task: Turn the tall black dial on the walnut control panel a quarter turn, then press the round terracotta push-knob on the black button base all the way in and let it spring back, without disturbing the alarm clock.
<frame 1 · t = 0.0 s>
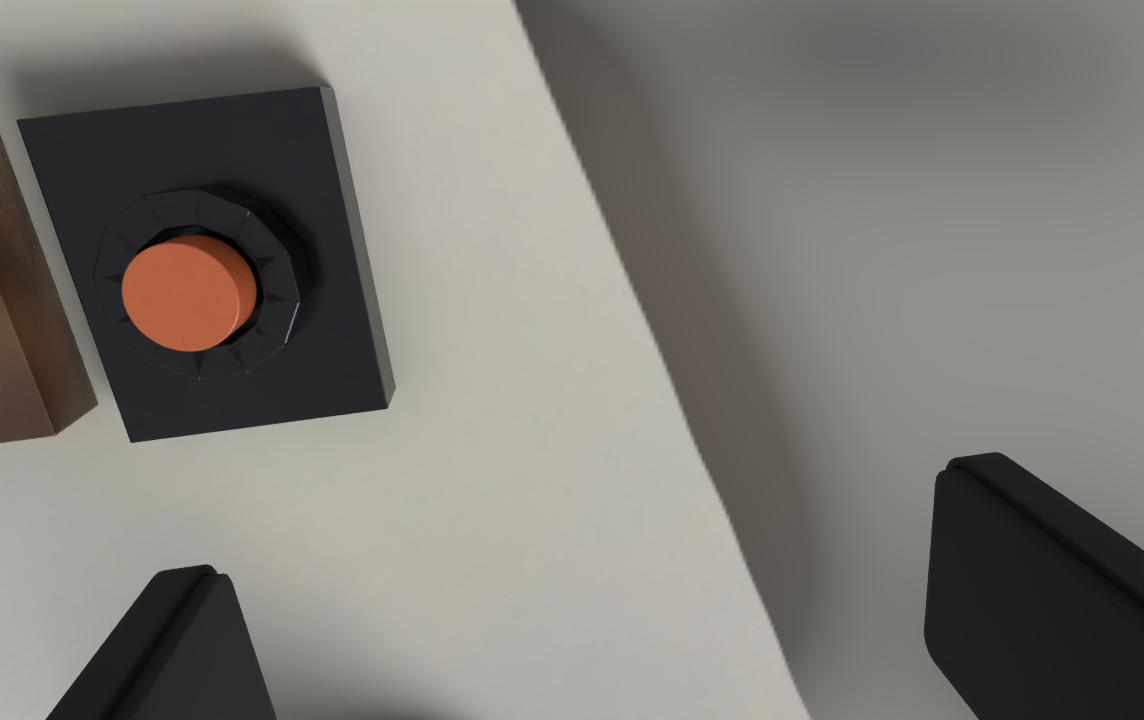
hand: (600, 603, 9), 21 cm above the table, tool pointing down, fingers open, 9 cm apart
black button base: (239, 264, 28), on the table
push knob: (192, 292, 24), point 4 cm above the table, slide at 0.1 cm
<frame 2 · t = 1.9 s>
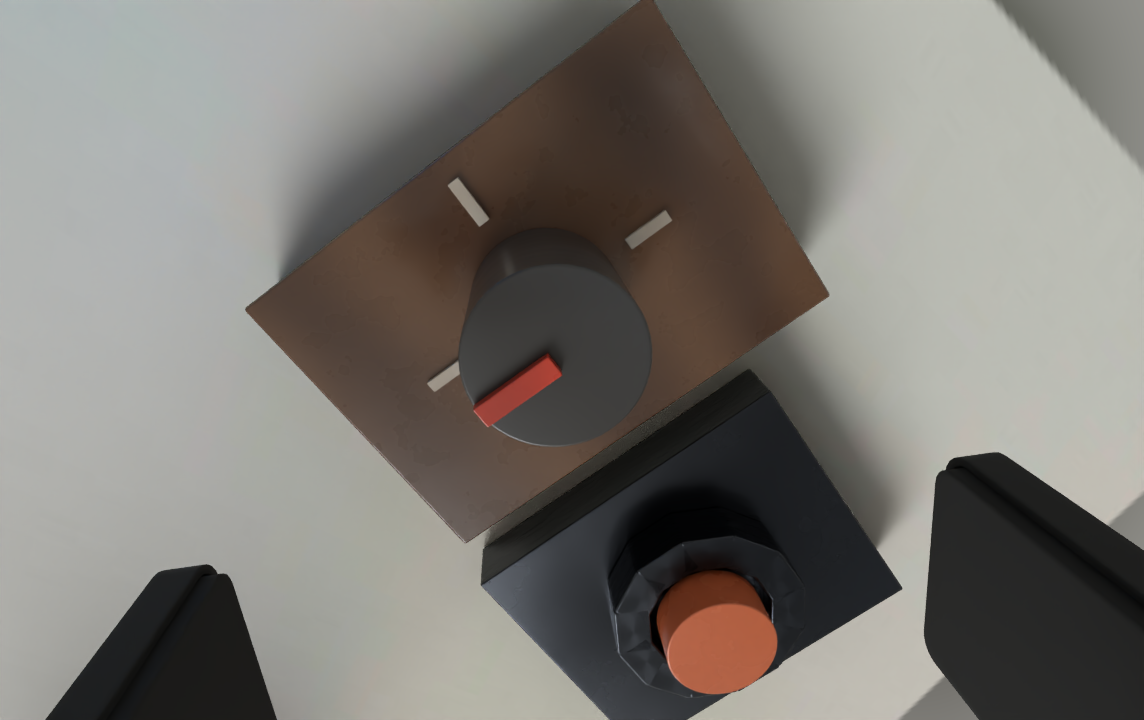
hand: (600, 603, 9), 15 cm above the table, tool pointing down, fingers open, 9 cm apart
black button base: (684, 551, 28), on the table
dial panel: (542, 279, 23), on the table
push knob: (715, 631, 23), point 4 cm above the table, slide at 0.1 cm
dial: (551, 329, 18), point 6 cm above the table, hinge at 0.0°
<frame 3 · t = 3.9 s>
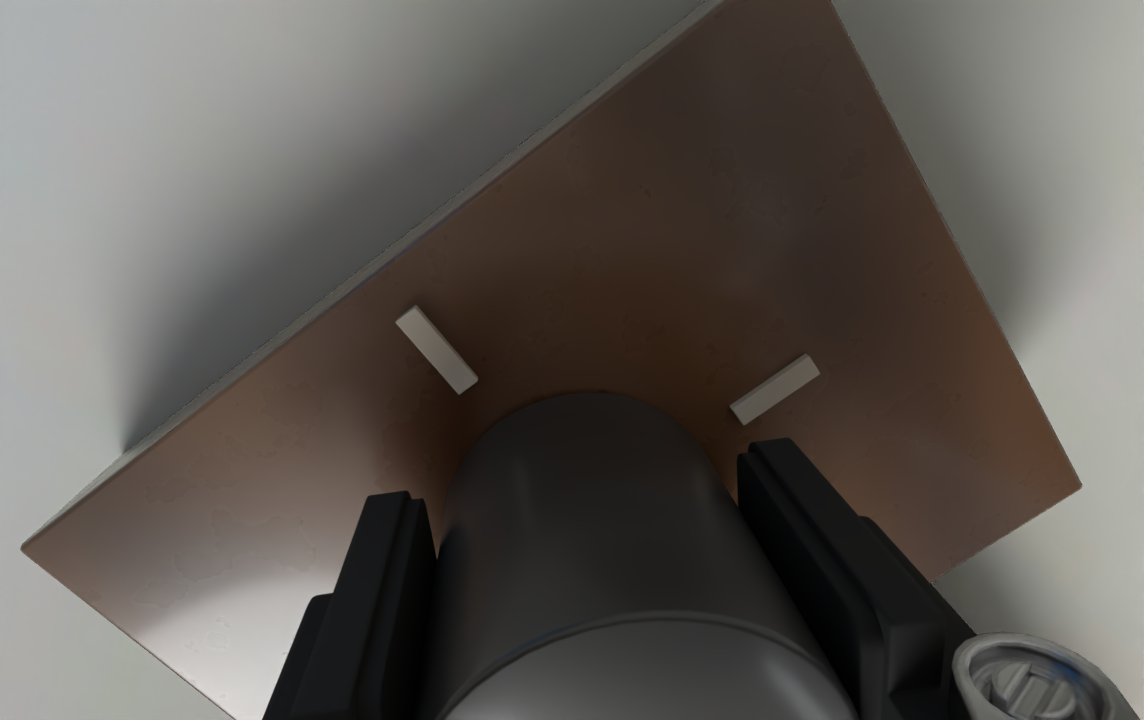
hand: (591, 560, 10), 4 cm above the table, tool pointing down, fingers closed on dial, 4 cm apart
dial panel: (567, 436, 14), on the table
dial: (606, 634, 9), point 6 cm above the table, hinge at -0.1°, touching gripper
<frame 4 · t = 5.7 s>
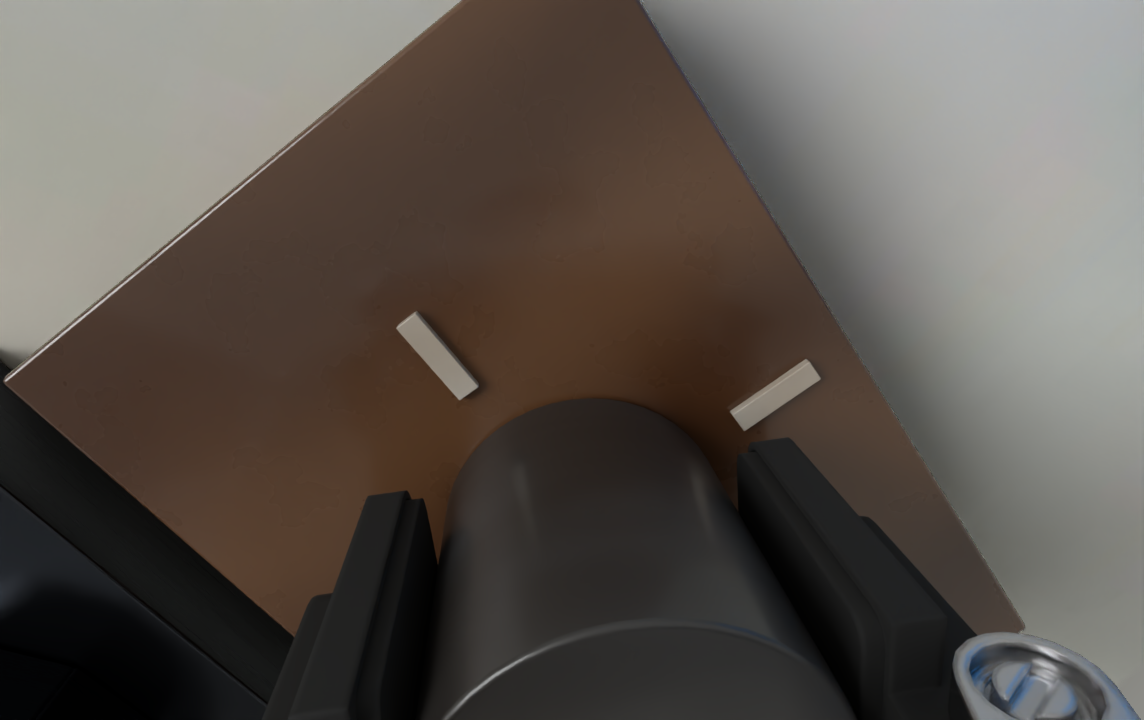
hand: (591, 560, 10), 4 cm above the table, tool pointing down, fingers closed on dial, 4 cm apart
black button base: (60, 694, 15), on the table
dial panel: (568, 441, 14), on the table
dial: (607, 640, 9), point 6 cm above the table, hinge at 90.7°, touching gripper
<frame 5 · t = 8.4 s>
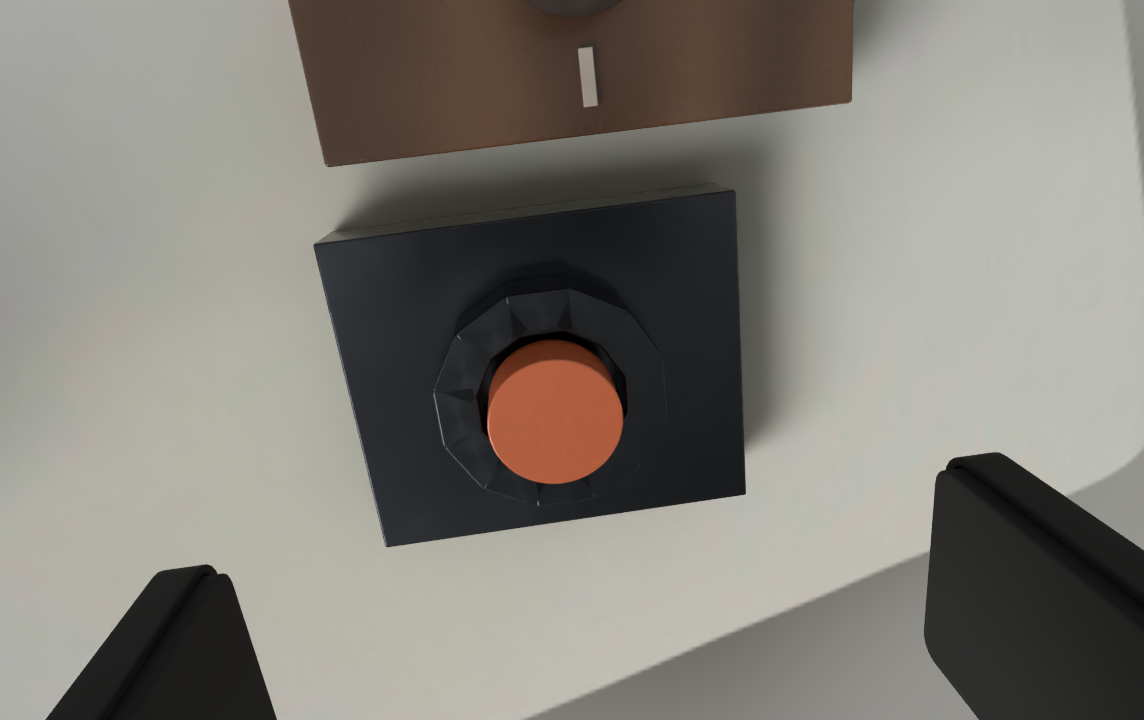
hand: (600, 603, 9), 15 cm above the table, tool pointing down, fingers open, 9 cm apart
black button base: (545, 357, 24), on the table
push knob: (553, 410, 19), point 4 cm above the table, slide at 0.1 cm
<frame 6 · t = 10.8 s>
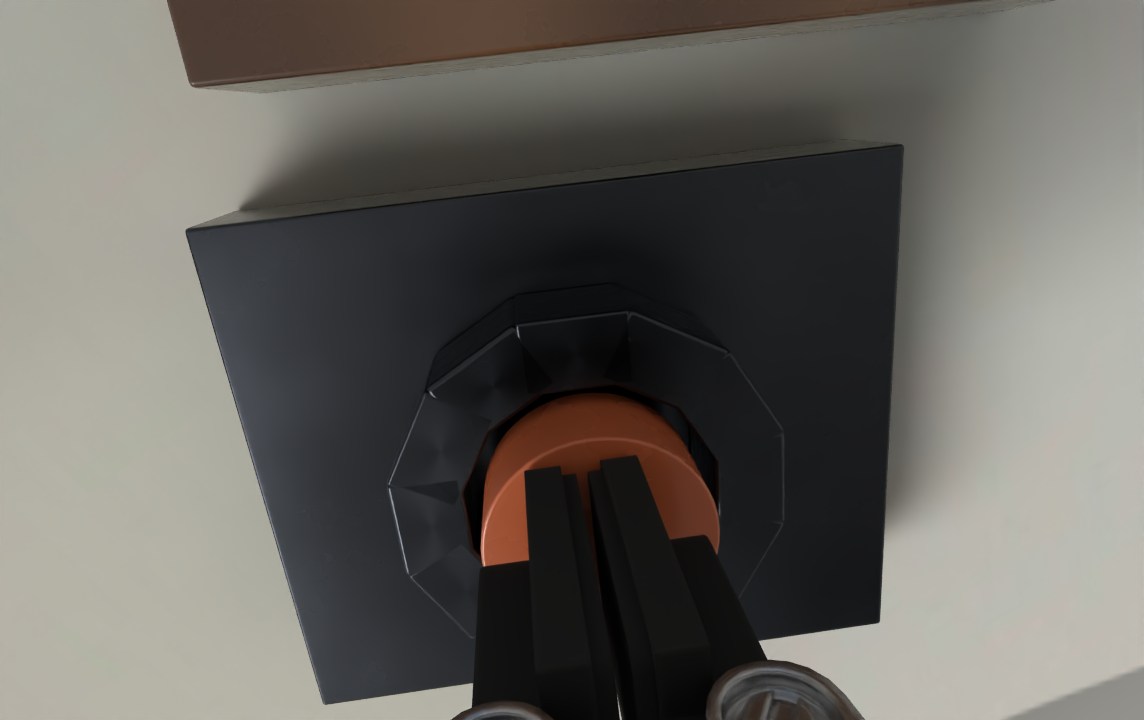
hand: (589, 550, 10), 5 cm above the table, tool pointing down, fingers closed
black button base: (572, 409, 15), on the table
push knob: (595, 515, 11), point 4 cm above the table, slide at -0.1 cm, touching gripper
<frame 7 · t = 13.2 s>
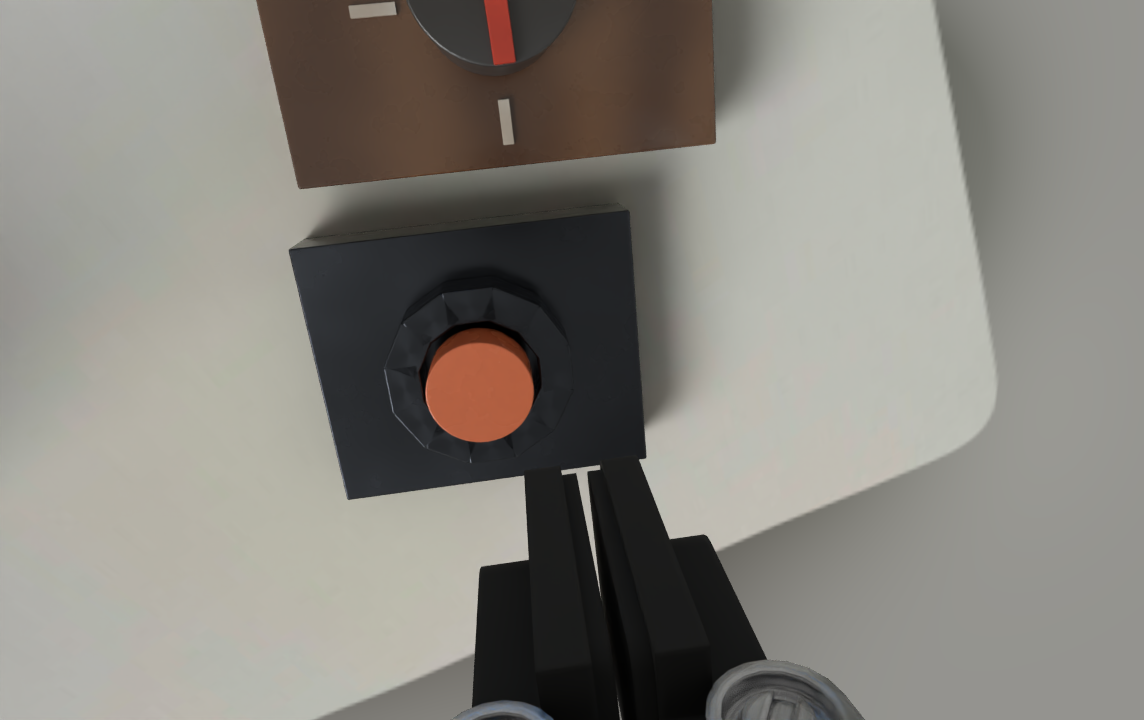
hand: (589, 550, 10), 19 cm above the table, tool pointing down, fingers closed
black button base: (482, 344, 29), on the table
dial panel: (491, 12, 25), on the table
push knob: (480, 384, 24), point 4 cm above the table, slide at 0.1 cm
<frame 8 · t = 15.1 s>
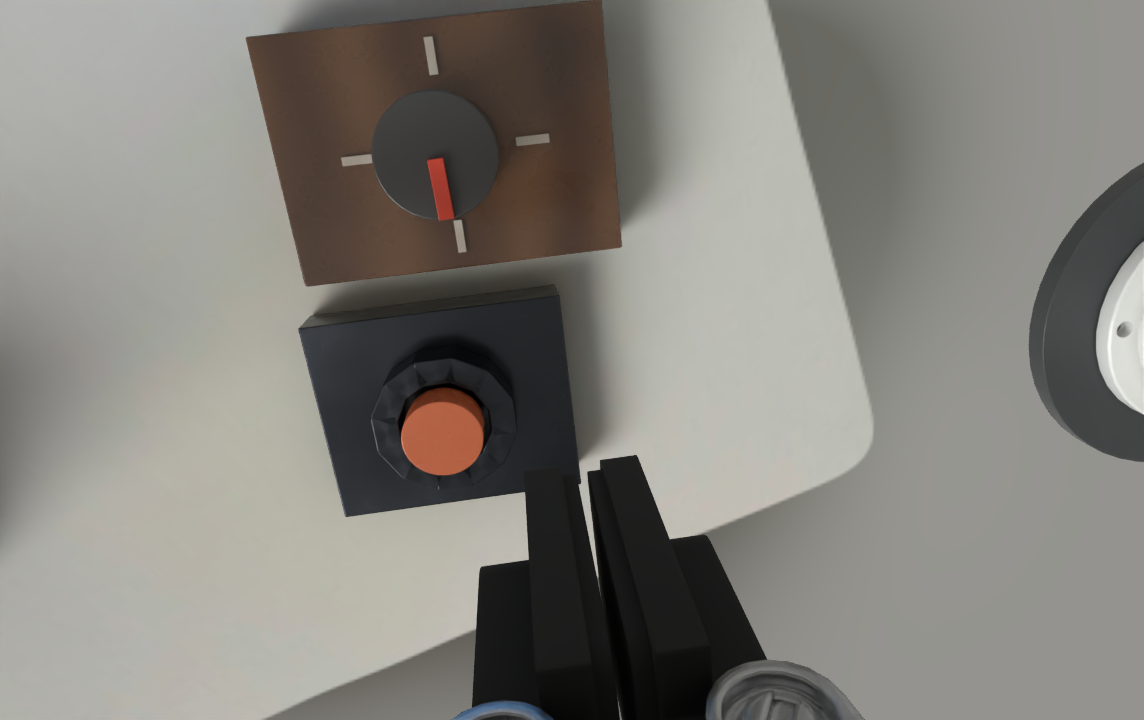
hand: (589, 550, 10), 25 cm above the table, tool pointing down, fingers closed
black button base: (451, 393, 36), on the table
dial panel: (451, 146, 32), on the table
push knob: (444, 431, 32), point 4 cm above the table, slide at 0.1 cm
dial: (441, 153, 27), point 6 cm above the table, hinge at 91.7°
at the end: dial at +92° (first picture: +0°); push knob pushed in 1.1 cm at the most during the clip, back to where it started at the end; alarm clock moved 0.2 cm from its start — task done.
